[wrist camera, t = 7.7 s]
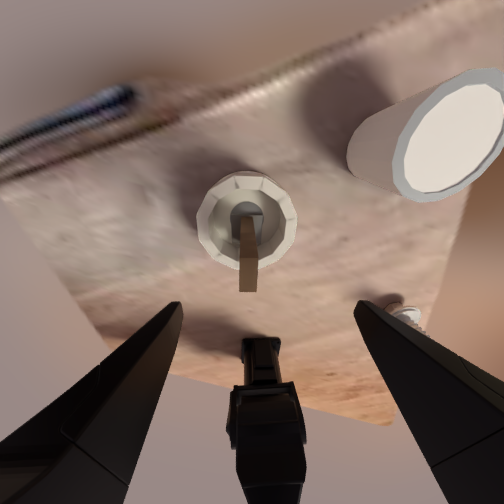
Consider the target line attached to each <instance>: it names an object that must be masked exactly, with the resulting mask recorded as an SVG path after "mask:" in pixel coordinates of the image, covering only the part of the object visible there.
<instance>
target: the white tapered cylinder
mask: <svg viewBox="0 0 504 504" xmlns="http://www.w3.org/2000/svg"><path fill="white" fill-rule="evenodd" d="M503 146H504V73H503V72H502V71H500V70H499V69H497V68H483V69H471V70H467V71H465V72H463V73H461V74H459V75H457V76H454V77H452V78H450V79H448V80H446V81H444V82H442V83H439V84H437V85H435V86H433V87H431V88H429V89H427V90H424V91H422V92H420V93H418V94H416V95H414V96H411V97H409V98H407V99H405V100H403V101H401V102H399V103H396V104H394V105H392V106H390V107H388V108H386V109H383V110H381V111H379V112H377V113H375V114H374V115H372V116H370V117H368V118H366V119H365V120H364V121H363V122H362V123H361V124H360V125H359V127H358V128H357V129H356V130H355V131H354V133H353V135H352V137H351V139H350V141H349V143H348V148H347V154H346V159H347V164H348V169H349V170H350V171H351V172H352V174H353V175H354V176H355V177H357V178H360V179H362V180H365V181H367V182H369V183H372V184H374V185H377V186H379V187H381V188H384V189H386V190H389V191H391V192H393V193H396V194H398V195H401V196H403V197H405V198H408V199H410V200H413V201H415V202H418V203H419V202H431V201H438V200H441V199H443V198H445V197H448V196H450V195H453V194H455V193H457V192H459V191H461V190H462V189H463V188H465V187H466V186H467V185H469V184H470V183H471V182H473V181H474V180H475V179H476V178H478V177H479V176H481V174H482V173H483V172H484V171H485V170H486V169H487V167H488V166H489V165H490V164H491V163H492V162H493V161H494V159H495V158H496V157H497V156H498V155H499V154H500V152H501V150H502V148H503Z"/></svg>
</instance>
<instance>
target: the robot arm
mask: <svg viewBox="0 0 504 504" xmlns="http://www.w3.org/2000/svg"><path fill="white" fill-rule="evenodd" d="M353 314H354V318H355V320H356V322H357V325H358V327H359V330H360V332H361V335H362V337H363V340H364V342H365V344H366V346H367V348H368V350H369V352H370V354H371V356H372V358H373V360H374V362H375V364H376V366H377V367H378V369H379V371H380V373H381V375H382V377H383V379H384V381H385V383H386V385H387V387H388V388H389V390H390V392H391V394H392V396H393V398H394V400H395V402H396V404H397V406H398V408H399V409H400V411H401V413H402V415H403V417H404V419H405V421H406V423H407V425H408V427H409V429H410V430H411V432H412V434H413V436H414V438H415V440H416V442H417V444H418V446H419V448H420V450H421V452H422V453H423V455H424V457H425V459H426V461H427V463H428V465H429V466H430V469H431V471H432V473H433V475H434V477H435V479H436V481H437V482H438V484H439V486H440V488H441V490H442V492H443V494H444V496H445V498H446V500H447V502H448V503H449V504H504V382H503V381H501V380H499V379H498V378H496V377H494V376H492V375H490V374H489V373H487V372H485V371H484V370H482V369H480V368H479V367H477V366H475V365H474V364H472V363H470V362H469V361H467V360H465V359H464V358H462V357H460V356H458V355H457V354H455V353H454V352H452V351H450V350H449V349H447V348H445V347H444V346H442V345H441V344H439V343H437V342H435V341H434V340H432V339H431V338H429V337H427V336H426V335H424V334H422V333H421V332H419V331H418V330H416V329H414V328H413V327H411V326H409V325H408V324H406V323H404V322H403V321H401V320H399V319H398V318H396V317H394V316H393V315H391V314H389V313H388V312H386V311H384V310H383V309H381V308H380V307H378V306H376V305H375V304H373V303H371V302H370V301H368V300H359V301H358V302H357V305H356V307H355V309H354V312H353ZM182 321H183V309H182V305H181V302H179V301H175V302H171V303H169V304H168V305H167V306H166V307H165V308H163V309H162V310H161V311H160V312H159V313H158V314H156V315H155V316H154V317H153V318H152V319H151V320H149V321H148V322H147V323H146V324H145V325H144V326H142V327H141V328H140V329H139V330H138V331H137V332H136V333H134V334H133V335H132V336H131V337H130V338H129V339H127V340H126V341H125V342H124V343H123V344H122V345H120V346H119V347H118V348H117V349H116V350H115V351H113V352H112V353H111V354H110V355H109V356H108V357H106V358H105V359H104V360H103V361H102V362H101V363H100V365H97V366H96V367H95V368H93V369H92V370H91V371H90V372H89V373H88V374H86V375H85V376H84V377H83V378H82V379H80V380H79V381H78V382H77V383H76V384H74V385H73V386H72V387H71V388H70V389H68V390H67V391H66V392H64V393H63V394H62V395H61V396H60V397H58V398H57V399H56V400H54V401H53V402H52V403H50V404H49V405H48V406H47V407H45V408H44V409H43V410H41V411H40V412H39V413H38V414H36V415H35V416H34V417H32V418H31V419H30V420H29V421H27V422H26V423H24V424H23V425H22V426H20V427H19V428H18V429H17V430H15V431H14V432H13V433H11V434H10V435H9V436H7V437H6V438H5V439H4V440H2V441H1V442H0V504H123V502H124V499H125V496H126V493H127V491H128V488H129V486H128V485H129V484H130V482H131V479H132V476H133V473H134V470H135V467H136V464H137V461H138V458H139V455H140V452H141V450H142V447H143V444H144V441H145V438H146V435H147V432H148V429H149V426H150V423H151V420H152V418H153V415H154V412H155V409H156V406H157V403H158V400H159V397H160V394H161V391H162V388H163V385H164V382H165V380H166V377H167V374H168V371H169V368H170V365H171V362H172V360H173V357H174V354H175V350H176V347H177V343H178V338H179V334H180V330H181V325H182ZM280 345H281V340H280V339H243V340H242V363H243V364H244V385H242V386H238V385H234V389H233V391H231V392H230V405H229V412H228V418H227V425H226V432H227V433H228V435H229V436H230V441H231V449H232V450H235V449H236V472H237V475H238V478H239V480H240V483H241V486H242V489H243V491H244V494H245V497H246V499H247V502H248V504H299V503H300V498H301V492H302V487H303V483H304V482H305V476H306V468H307V467H306V458H305V453H304V447H303V444H306V429H305V423H304V418H303V414H302V410H301V407H300V403H299V400H298V396H297V393H296V389H295V386H294V382H293V381H290V382H286V383H282V378H281V373H280V367H279V361H278V355H279V350H280Z"/></svg>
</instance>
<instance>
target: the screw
mask: <svg viewBox="0 0 504 504" xmlns="http://www.w3.org/2000/svg"><path fill="white" fill-rule="evenodd" d="M384 311H386V312H388V313H389V314H391V315H393V316H394V317H396V318H398V319H399V320H401V321H403V322H404V323H406V324H408V325H409V326H411V327H413V328H414V329H416V330H418V331H419V332H421V333H422V334H424V335H426V334H425V333H426V332H425V331H422V328H421V327H418V324H417V323H418V321H419V320H420V317H421V311H420V310H419V309H418V308H416V307H414V306H403V305H402V304H400V303H399V302H398V303H392V304H389V305H388V306H387V307H386V308H385V309H384ZM426 336H427V337H429V338H430V336H429V335H426Z"/></svg>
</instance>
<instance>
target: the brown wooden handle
mask: <svg viewBox="0 0 504 504" xmlns="http://www.w3.org/2000/svg"><path fill="white" fill-rule="evenodd" d="M262 220H263V215H262V214H253V213H231V230H232V243H240V256H239V292H257V276H258V260H259V257H258V250H257V244H261V234H262Z"/></svg>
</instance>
